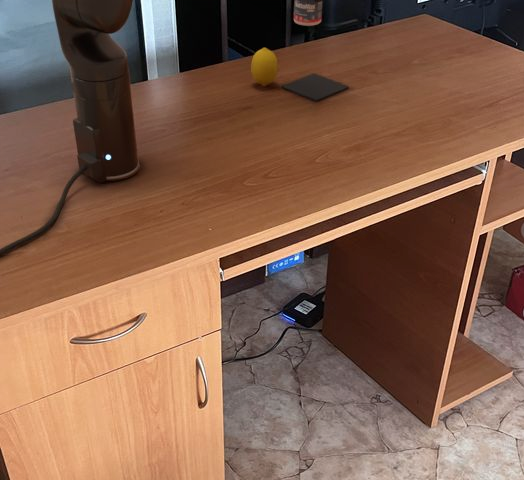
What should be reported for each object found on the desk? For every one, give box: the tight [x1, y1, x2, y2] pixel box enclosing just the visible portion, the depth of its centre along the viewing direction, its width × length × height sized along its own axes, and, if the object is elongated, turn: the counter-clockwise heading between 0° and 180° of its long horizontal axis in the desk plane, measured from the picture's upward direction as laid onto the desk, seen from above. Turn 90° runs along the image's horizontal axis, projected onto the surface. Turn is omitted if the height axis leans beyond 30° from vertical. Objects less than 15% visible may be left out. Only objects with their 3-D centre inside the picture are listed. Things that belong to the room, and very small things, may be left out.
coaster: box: [280, 73, 350, 103], centre depth 164 cm, size 10×10×1 cm
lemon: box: [250, 47, 279, 87], centre depth 162 cm, size 6×6×8 cm
